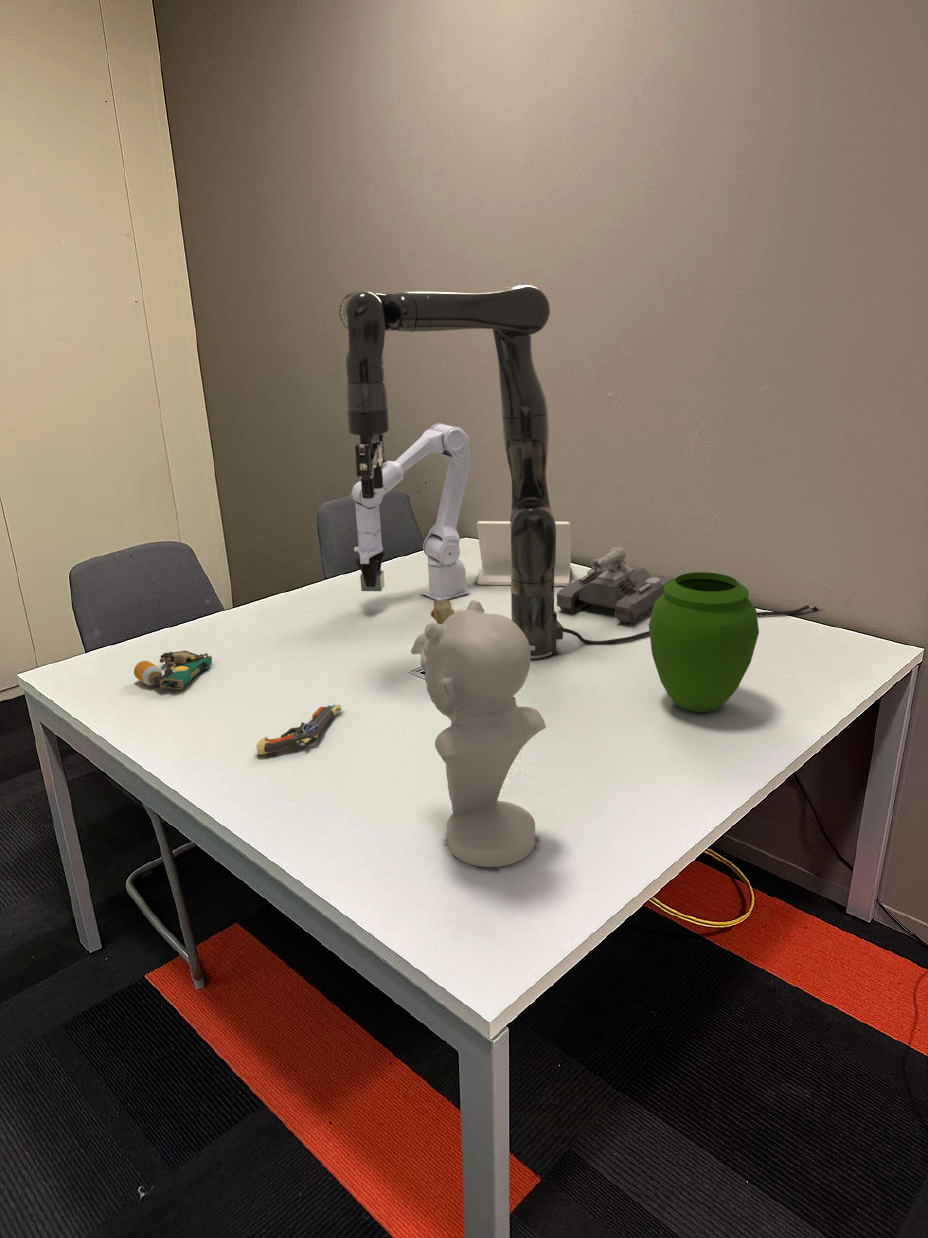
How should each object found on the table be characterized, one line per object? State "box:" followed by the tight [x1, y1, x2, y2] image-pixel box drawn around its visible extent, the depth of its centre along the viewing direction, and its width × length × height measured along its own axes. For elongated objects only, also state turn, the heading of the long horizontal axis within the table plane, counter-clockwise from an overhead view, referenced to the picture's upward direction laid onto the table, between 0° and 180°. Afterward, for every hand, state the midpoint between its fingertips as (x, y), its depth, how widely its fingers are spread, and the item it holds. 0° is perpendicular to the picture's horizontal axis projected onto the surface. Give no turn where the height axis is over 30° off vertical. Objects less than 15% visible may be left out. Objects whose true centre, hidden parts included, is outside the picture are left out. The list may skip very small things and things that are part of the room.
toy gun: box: [256, 704, 342, 756], centre depth 155 cm, size 3×19×10 cm
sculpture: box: [430, 599, 456, 624], centre depth 177 cm, size 6×7×15 cm
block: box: [359, 570, 385, 592], centre depth 214 cm, size 4×5×4 cm
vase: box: [648, 571, 760, 713], centre depth 157 cm, size 20×20×24 cm
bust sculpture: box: [410, 599, 547, 868], centre depth 121 cm, size 16×24×35 cm
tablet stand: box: [476, 520, 572, 587], centre depth 236 cm, size 18×25×17 cm
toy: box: [556, 546, 675, 624], centre depth 212 cm, size 25×20×15 cm
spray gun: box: [133, 650, 213, 690], centre depth 180 cm, size 4×17×15 cm
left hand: (372, 583), depth 214 cm, fingers closed on block, 4 cm apart
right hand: (373, 493), depth 164 cm, fingers open, 8 cm apart
